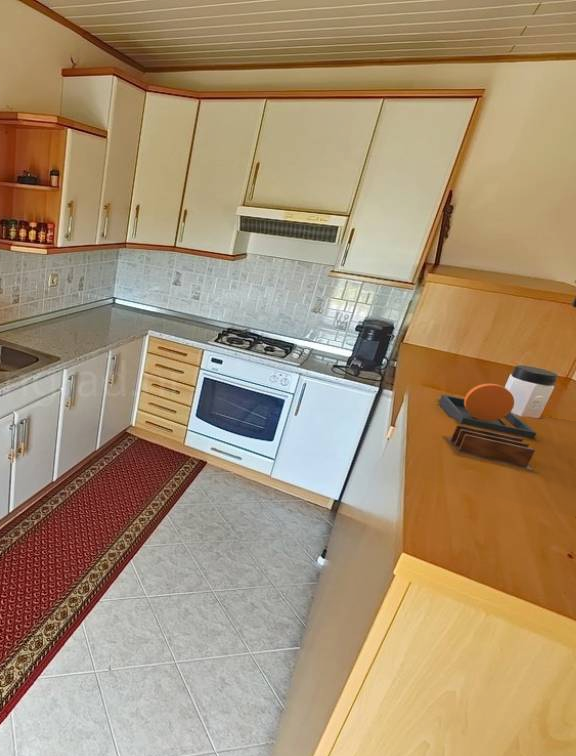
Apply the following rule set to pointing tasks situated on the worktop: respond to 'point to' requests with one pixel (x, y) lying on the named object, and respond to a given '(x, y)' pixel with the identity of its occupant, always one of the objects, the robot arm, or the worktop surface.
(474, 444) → the rack
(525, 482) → the worktop surface
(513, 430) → the tray
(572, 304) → the robot arm
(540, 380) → the jar
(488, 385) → the disc
